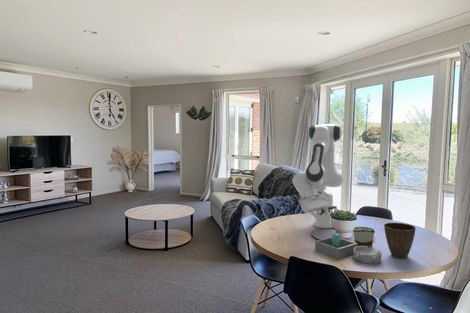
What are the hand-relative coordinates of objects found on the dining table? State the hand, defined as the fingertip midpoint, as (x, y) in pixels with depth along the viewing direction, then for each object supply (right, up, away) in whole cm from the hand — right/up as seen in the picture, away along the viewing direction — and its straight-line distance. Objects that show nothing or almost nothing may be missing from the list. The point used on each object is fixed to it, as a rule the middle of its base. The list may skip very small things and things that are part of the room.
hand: (322, 215), depth 190 cm
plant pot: (+36, -19, -15) cm, 44 cm away
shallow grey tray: (+6, -18, -7) cm, 20 cm away
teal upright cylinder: (+6, -18, -7) cm, 20 cm away
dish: (+18, -19, -19) cm, 33 cm away
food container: (+24, -18, +3) cm, 30 cm away
